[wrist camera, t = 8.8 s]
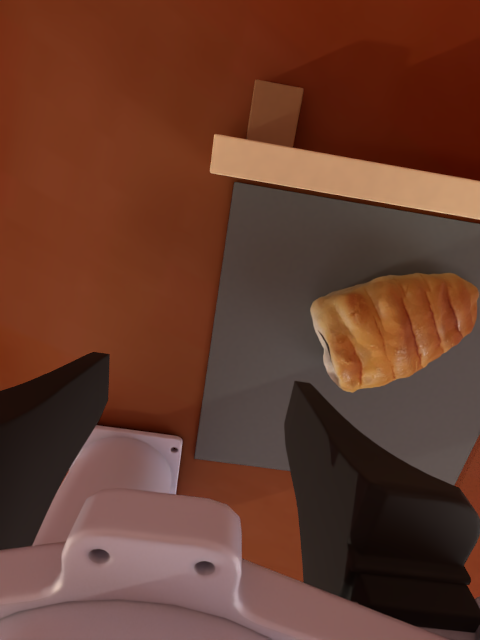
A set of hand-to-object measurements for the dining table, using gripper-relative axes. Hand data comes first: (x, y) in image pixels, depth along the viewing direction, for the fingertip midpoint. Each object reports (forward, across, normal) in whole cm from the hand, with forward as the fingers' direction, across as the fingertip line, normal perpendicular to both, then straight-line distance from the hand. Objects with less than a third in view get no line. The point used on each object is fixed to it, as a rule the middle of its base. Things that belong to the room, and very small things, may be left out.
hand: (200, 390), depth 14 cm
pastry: (+10, -10, -1) cm, 14 cm away
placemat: (+9, -10, +2) cm, 14 cm away
